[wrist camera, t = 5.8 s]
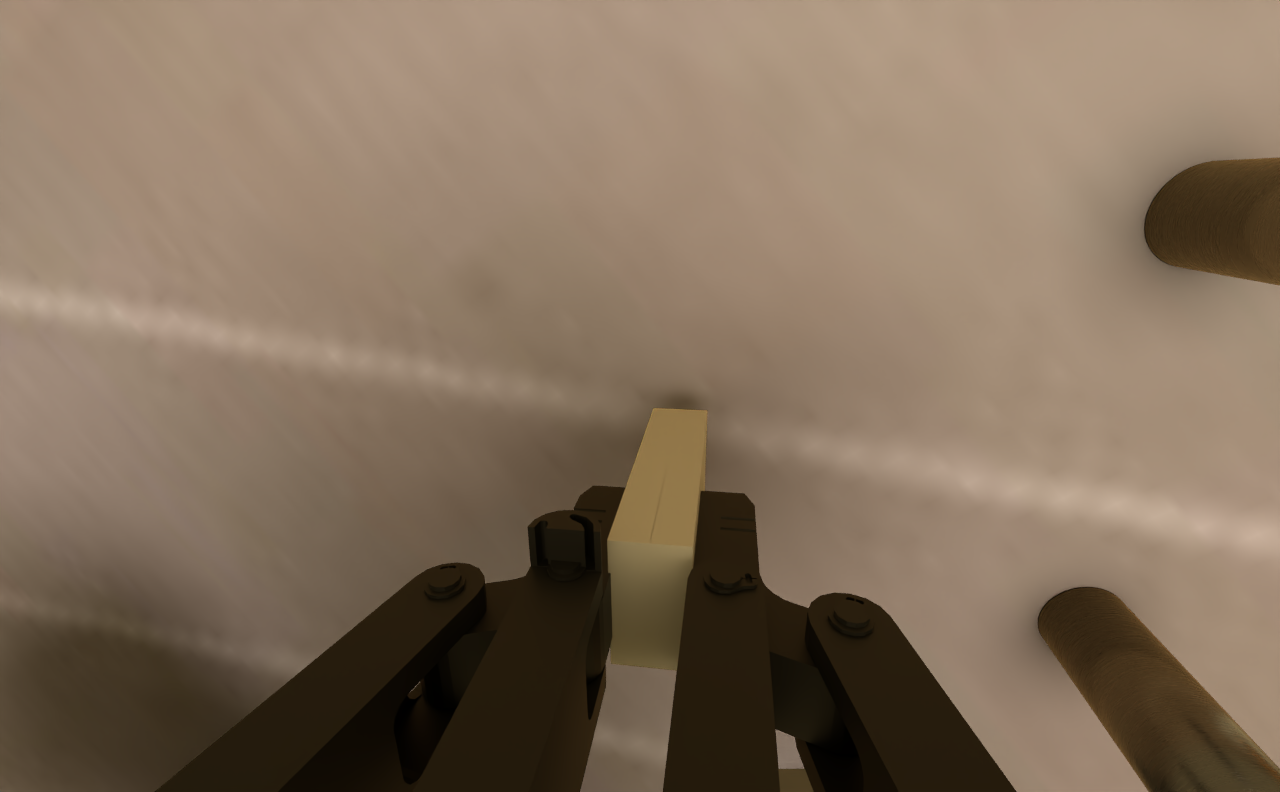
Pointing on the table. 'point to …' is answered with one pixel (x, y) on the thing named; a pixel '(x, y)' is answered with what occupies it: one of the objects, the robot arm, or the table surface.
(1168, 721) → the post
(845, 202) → the table surface
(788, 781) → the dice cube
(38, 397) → the table surface
